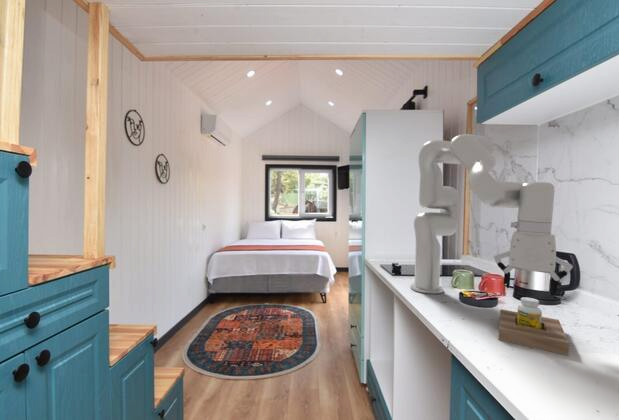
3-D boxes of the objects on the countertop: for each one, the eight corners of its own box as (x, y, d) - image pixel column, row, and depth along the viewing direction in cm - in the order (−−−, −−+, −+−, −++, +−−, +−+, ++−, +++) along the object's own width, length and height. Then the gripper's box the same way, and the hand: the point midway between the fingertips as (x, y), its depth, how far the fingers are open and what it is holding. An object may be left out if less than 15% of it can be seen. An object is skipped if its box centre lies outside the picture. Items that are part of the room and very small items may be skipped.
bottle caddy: (500, 318, 95) (500, 309, 95) (558, 330, 87) (558, 319, 87) (498, 339, 80) (498, 328, 80) (568, 355, 72) (569, 342, 72)
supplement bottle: (542, 335, 84) (544, 300, 83) (538, 340, 80) (540, 304, 80) (519, 328, 87) (520, 295, 87) (514, 333, 84) (515, 298, 84)
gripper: (495, 226, 85) (491, 287, 86) (578, 232, 75) (572, 301, 76) (496, 224, 91) (492, 281, 92) (572, 230, 81) (567, 293, 82)
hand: (528, 290), depth 84 cm, fingers open, 9 cm apart
